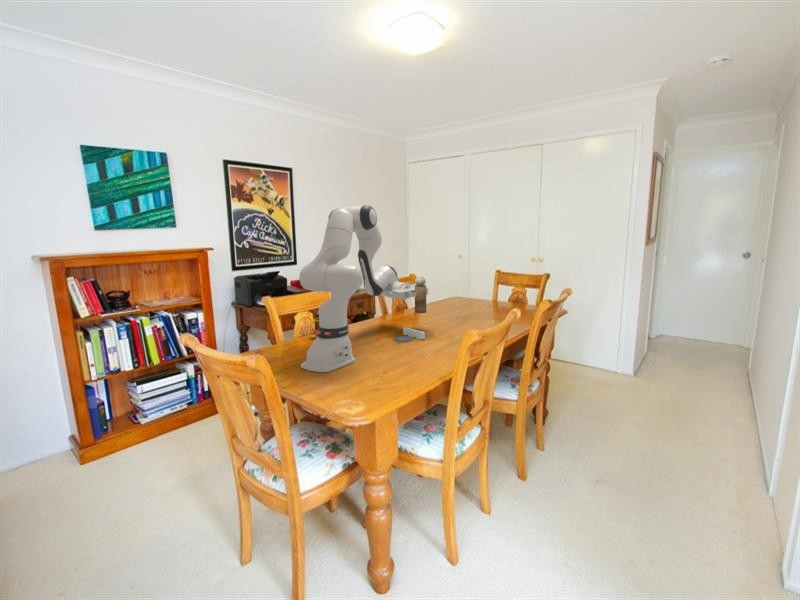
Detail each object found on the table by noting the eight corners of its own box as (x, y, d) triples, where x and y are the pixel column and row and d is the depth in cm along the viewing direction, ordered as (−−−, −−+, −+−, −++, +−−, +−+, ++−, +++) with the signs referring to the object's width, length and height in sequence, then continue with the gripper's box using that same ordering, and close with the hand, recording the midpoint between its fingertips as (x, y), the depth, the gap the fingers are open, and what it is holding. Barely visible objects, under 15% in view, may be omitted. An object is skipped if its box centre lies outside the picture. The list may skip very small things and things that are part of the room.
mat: (408, 343, 183) (408, 341, 183) (391, 340, 187) (391, 339, 187) (416, 338, 191) (416, 336, 191) (399, 336, 195) (399, 334, 195)
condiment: (311, 338, 194) (310, 314, 192) (324, 334, 201) (322, 311, 199) (322, 340, 190) (320, 316, 188) (334, 336, 197) (333, 312, 195)
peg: (423, 313, 190) (423, 277, 187) (413, 312, 192) (412, 277, 189) (428, 311, 195) (428, 276, 192) (417, 310, 197) (417, 275, 194)
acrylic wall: (424, 339, 188) (424, 332, 187) (423, 340, 187) (423, 332, 187) (405, 333, 198) (404, 327, 198) (403, 334, 198) (403, 327, 197)
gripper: (386, 287, 194) (406, 290, 184) (416, 283, 208) (435, 285, 198) (386, 299, 195) (406, 303, 185) (416, 294, 209) (435, 297, 199)
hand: (421, 294), depth 191 cm, fingers closed on peg, 6 cm apart
